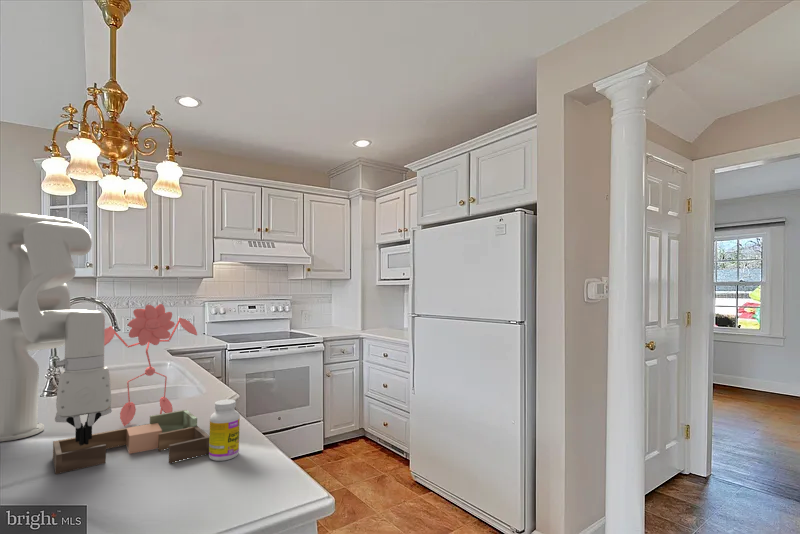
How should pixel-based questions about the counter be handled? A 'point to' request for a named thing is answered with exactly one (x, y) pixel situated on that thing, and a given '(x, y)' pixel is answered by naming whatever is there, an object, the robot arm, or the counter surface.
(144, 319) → the figurine
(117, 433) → the box
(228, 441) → the supplement bottle
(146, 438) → the terracotta block
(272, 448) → the counter surface
